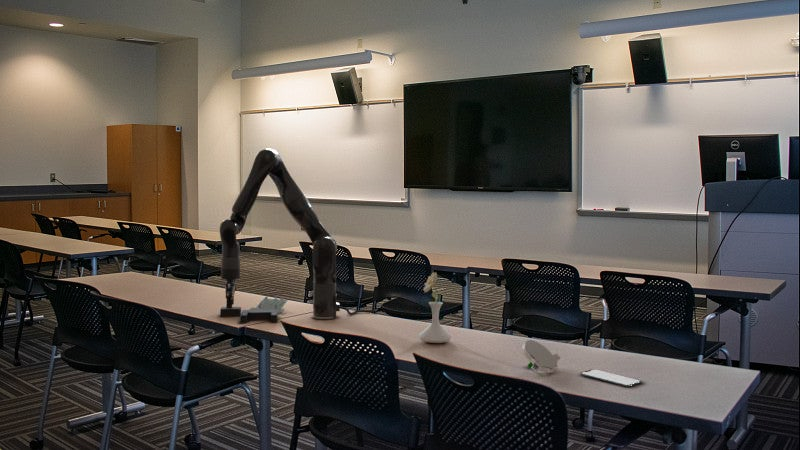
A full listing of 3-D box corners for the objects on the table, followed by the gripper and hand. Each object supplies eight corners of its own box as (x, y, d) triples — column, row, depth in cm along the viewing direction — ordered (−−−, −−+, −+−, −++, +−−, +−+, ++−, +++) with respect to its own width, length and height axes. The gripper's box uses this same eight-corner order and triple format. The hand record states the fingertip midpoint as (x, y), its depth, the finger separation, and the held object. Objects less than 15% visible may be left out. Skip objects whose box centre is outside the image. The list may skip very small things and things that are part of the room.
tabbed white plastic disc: (545, 374, 205) (527, 339, 208) (523, 385, 209) (506, 349, 212) (566, 364, 217) (549, 331, 220) (545, 374, 221) (529, 341, 224)
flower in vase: (421, 337, 257) (422, 268, 255) (452, 339, 255) (454, 269, 253) (415, 345, 244) (417, 272, 242) (449, 347, 242) (450, 274, 240)
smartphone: (643, 382, 202) (594, 370, 214) (643, 380, 202) (594, 368, 214) (628, 387, 196) (578, 374, 208) (628, 385, 196) (578, 372, 208)
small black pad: (241, 314, 297) (241, 306, 297) (240, 316, 292) (240, 309, 292) (221, 314, 296) (221, 307, 296) (220, 316, 291) (220, 309, 291)
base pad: (277, 316, 292) (277, 309, 292) (276, 322, 280) (276, 315, 280) (242, 317, 290) (242, 310, 290) (240, 323, 278) (240, 315, 278)
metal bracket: (259, 293, 313) (292, 295, 310) (261, 305, 315) (293, 307, 312) (247, 308, 300) (280, 310, 297) (248, 320, 302) (282, 322, 299)
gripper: (238, 269, 286) (238, 309, 287) (241, 265, 300) (240, 303, 301) (219, 269, 285) (219, 309, 286) (222, 265, 299) (222, 303, 300)
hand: (230, 306), depth 294 cm, fingers open, 8 cm apart
